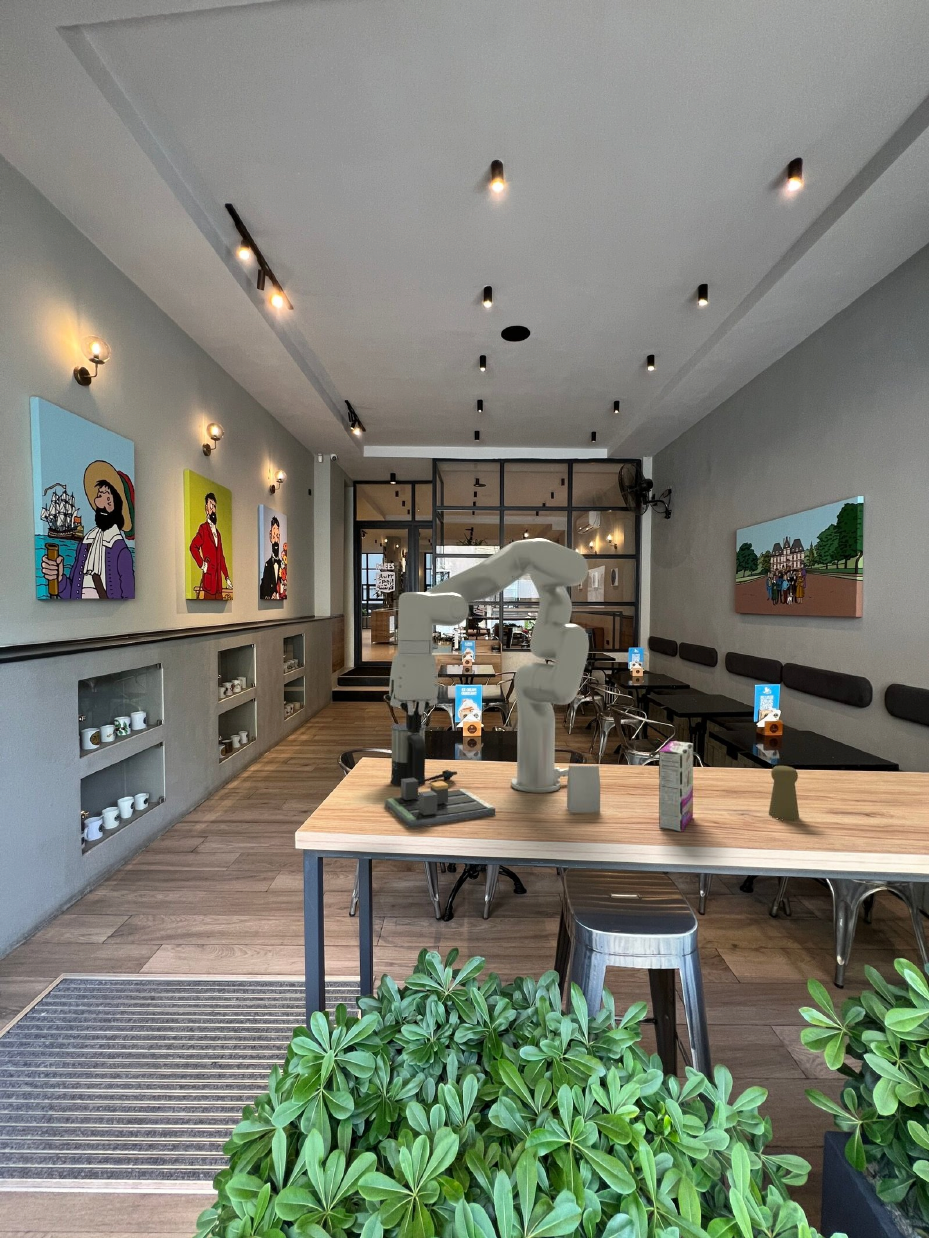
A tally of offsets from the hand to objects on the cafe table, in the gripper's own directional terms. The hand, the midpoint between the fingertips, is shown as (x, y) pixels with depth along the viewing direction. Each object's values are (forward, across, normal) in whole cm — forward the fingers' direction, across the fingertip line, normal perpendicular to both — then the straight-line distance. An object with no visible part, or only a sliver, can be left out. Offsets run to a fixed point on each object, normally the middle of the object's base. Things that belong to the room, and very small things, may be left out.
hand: (413, 731), depth 133 cm
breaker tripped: (+16, -6, 0) cm, 17 cm away
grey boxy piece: (+18, -36, +13) cm, 43 cm away
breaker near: (+16, -1, +5) cm, 17 cm away
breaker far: (+16, -1, -6) cm, 17 cm away
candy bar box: (+18, -49, +28) cm, 60 cm away
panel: (+18, -6, 0) cm, 19 cm away
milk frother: (+18, -12, -22) cm, 31 cm away
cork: (+18, -74, +35) cm, 84 cm away
